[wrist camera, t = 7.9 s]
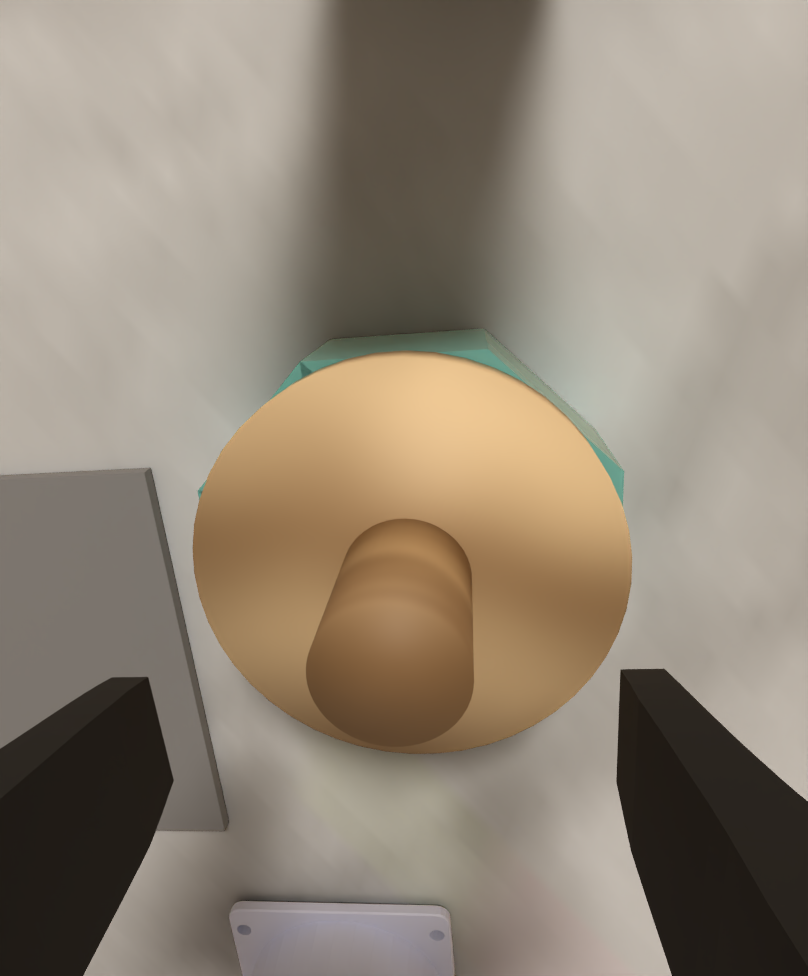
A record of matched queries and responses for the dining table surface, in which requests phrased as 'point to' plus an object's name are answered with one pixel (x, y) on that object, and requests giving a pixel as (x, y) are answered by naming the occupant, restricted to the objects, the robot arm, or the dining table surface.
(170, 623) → the mat
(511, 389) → the lid
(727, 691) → the dining table surface
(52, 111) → the dining table surface
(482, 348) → the bowl
